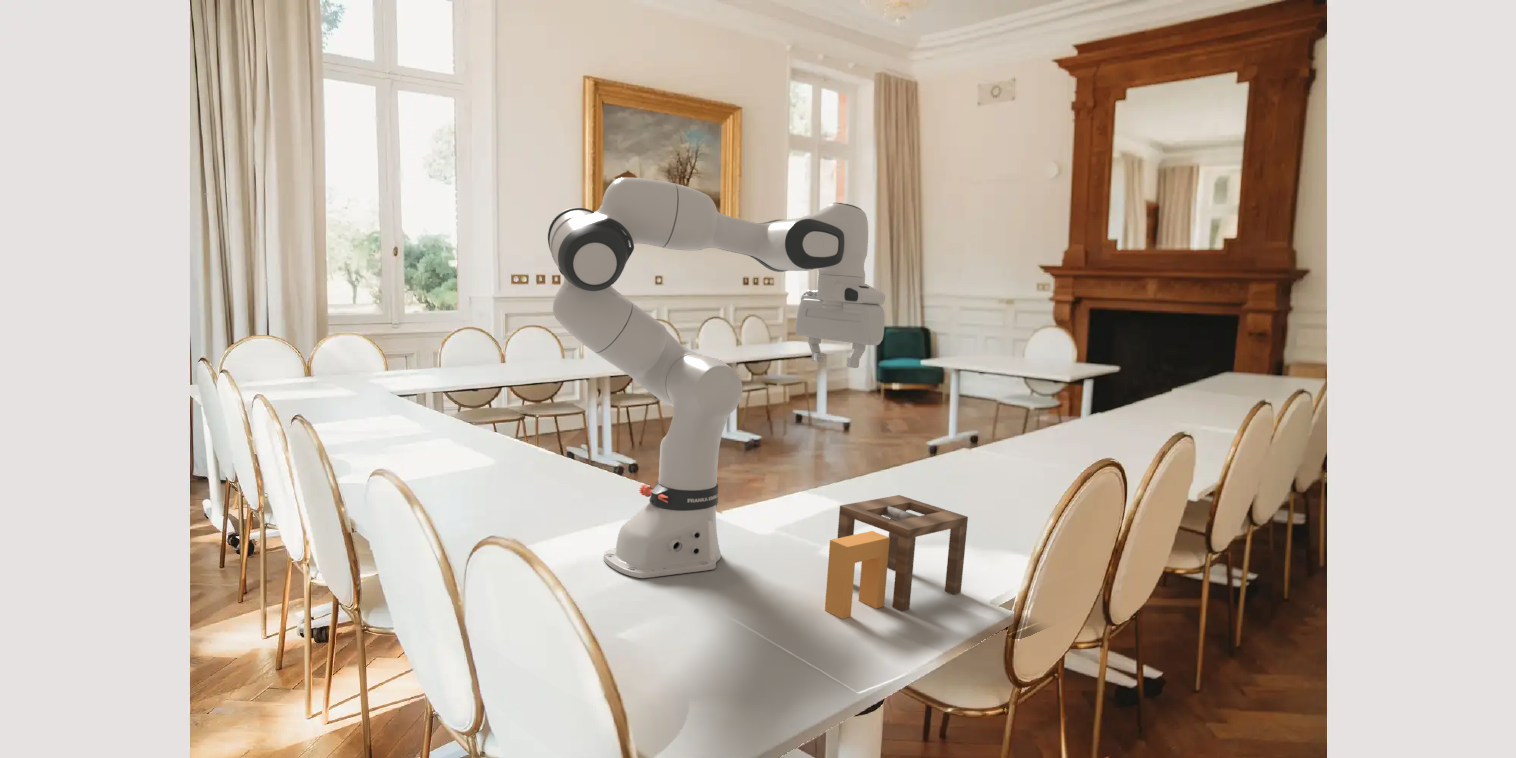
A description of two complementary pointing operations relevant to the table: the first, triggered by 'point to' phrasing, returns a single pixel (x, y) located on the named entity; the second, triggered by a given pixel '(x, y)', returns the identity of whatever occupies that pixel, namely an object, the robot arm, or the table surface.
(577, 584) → the table surface
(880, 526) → the brown stool
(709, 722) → the table surface
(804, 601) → the table surface
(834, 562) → the orange arch brick
